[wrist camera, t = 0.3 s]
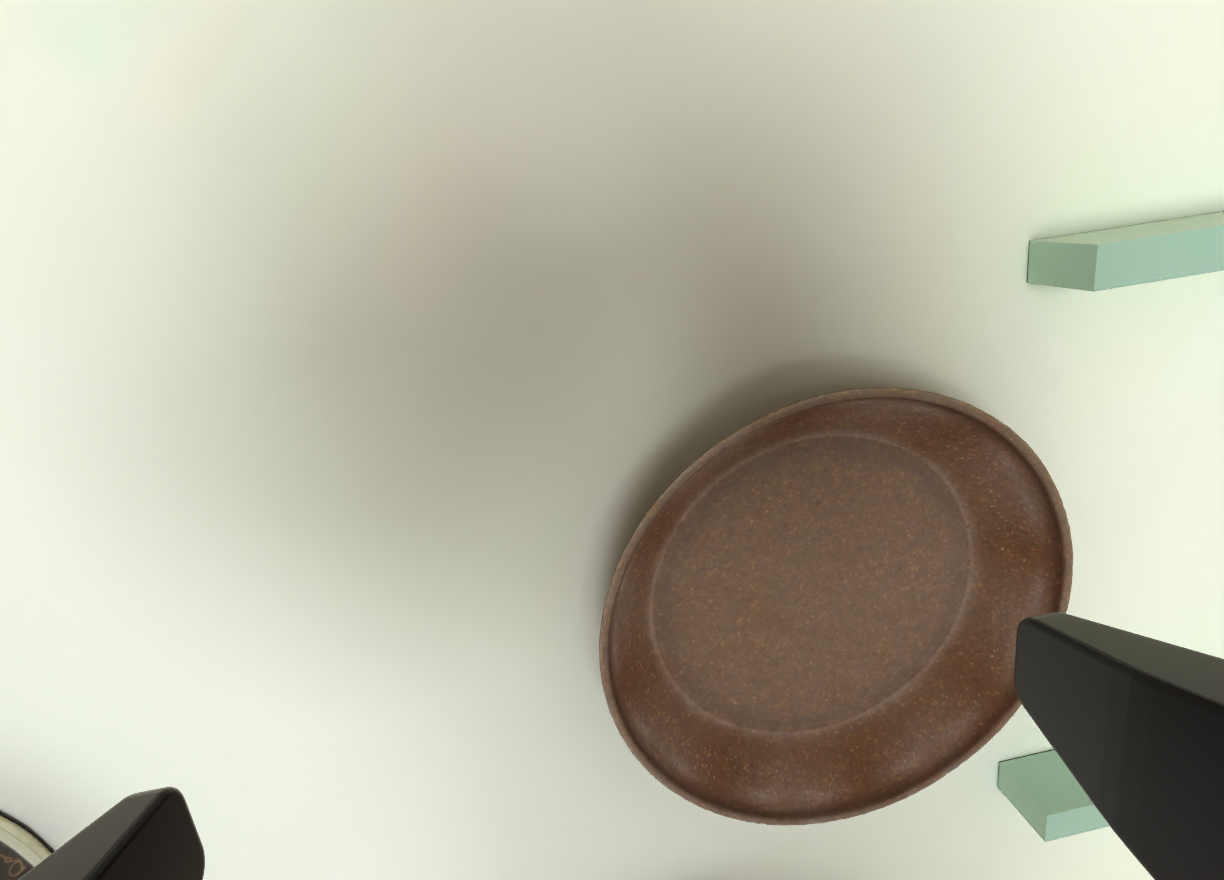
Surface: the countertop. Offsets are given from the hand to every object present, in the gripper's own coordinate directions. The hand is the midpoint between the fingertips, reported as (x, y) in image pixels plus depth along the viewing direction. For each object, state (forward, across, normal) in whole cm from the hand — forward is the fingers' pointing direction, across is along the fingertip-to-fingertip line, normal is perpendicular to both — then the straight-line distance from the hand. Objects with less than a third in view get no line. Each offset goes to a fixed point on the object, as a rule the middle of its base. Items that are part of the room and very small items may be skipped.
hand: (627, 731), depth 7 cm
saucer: (+14, -8, +7) cm, 17 cm away
